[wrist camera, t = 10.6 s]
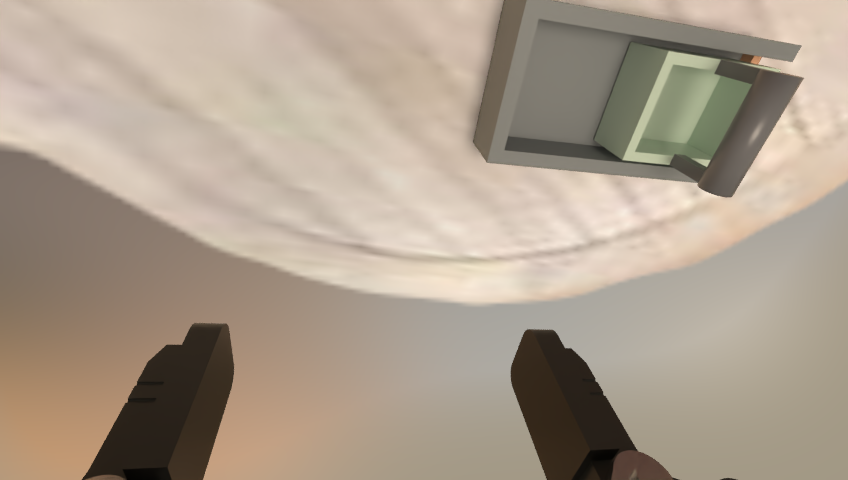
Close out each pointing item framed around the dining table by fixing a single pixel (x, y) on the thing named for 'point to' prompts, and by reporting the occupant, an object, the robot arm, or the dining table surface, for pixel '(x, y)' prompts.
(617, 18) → the bay
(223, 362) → the robot arm
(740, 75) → the box
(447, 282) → the dining table surface
